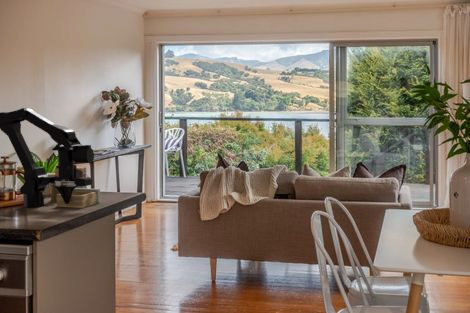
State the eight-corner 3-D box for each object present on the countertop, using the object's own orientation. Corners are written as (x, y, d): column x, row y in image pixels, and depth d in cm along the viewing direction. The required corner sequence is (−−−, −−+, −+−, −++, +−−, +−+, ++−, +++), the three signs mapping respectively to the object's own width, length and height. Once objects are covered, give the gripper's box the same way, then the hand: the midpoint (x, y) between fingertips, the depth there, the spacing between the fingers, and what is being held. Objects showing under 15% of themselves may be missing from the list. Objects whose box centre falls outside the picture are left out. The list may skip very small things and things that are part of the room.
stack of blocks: (35, 195, 252) (34, 167, 251) (40, 192, 258) (40, 166, 257) (82, 195, 251) (82, 167, 250) (87, 193, 257) (86, 166, 256)
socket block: (82, 207, 214) (82, 196, 214) (56, 206, 217) (56, 194, 217) (97, 203, 225) (96, 191, 224) (72, 201, 228) (72, 190, 227)
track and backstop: (74, 213, 208) (74, 196, 207) (45, 211, 211) (45, 194, 211) (100, 204, 226) (100, 188, 226) (73, 203, 230) (73, 187, 229)
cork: (53, 204, 227) (52, 177, 226) (48, 202, 232) (47, 175, 231) (68, 202, 231) (67, 176, 230) (63, 200, 235) (62, 174, 234)
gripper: (99, 161, 218) (100, 201, 219) (56, 160, 223) (57, 199, 224) (83, 164, 207) (84, 206, 208) (39, 162, 212) (40, 203, 214)
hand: (67, 203), depth 214 cm, fingers closed, pressing on socket block
